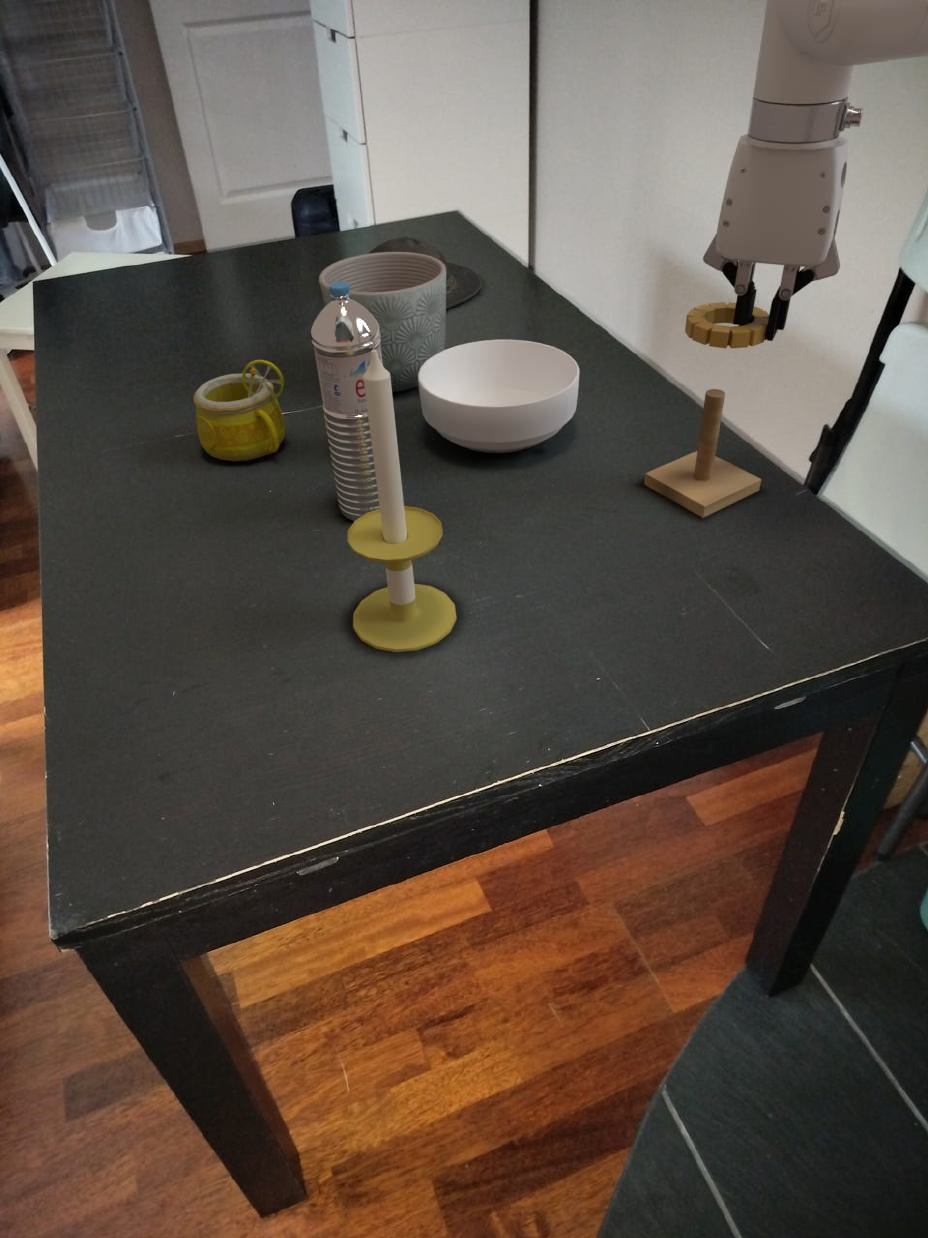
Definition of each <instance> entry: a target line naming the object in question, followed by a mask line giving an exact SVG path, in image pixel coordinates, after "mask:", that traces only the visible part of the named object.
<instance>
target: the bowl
mask: <svg viewBox="0 0 928 1238" xmlns="http://www.w3.org/2000/svg"><path fill="white" fill-rule="evenodd" d="M418 383H419V386H418V392H419V401H420V406H421V411H422V416H423V418H424V420H425V422H426V423H428V425H430V426H431V427H432V428H433V429H435V430H436V432H437V433H439V434H440V436H442V437H443V438H444V439H446V440H448V441H449V442H451V443H454V444H456V445H458V446H460V447H463V448H466V449H468V450H471V451H475V452H480V453H485V454H505V453H506V454H507V453H508V454H509V453H513V452H520V451H524V450H527V449H530V448H533V447H535V446H537V445H538V444H541V443H543V442H545V441H546V440H549V439H550V438H552V437H553V436H555V435H556V434H557V433H558V432H559V431H561V429H562V428H563V427H564V426H565V425H566V424H568V422H569V421H570V420H571V419H572V418H573V416H574V415H575V413H576V411H577V405H578V398H579V386H580V385H579V383H580V368H579V364H578V362H577V361H576V360H575V359H574V358H573V357H572V356H571V355H570V354H568V353H566V351H564V350H561V349H559V348H557V347H555V346H553V345H548V344H545V343H540V342H535V341H530V340H522V339H488V340H487V339H486V340H479V341H471V342H467V343H462V344H459V345H455V346H452V347H449V348H447V349H444V351H442V352H440V353H438V354H436V355H434V356H432V357H431V358H430V359H428V360H427V361H426V362H425V363H424V364H423V365H422V366H421V368H420V371H419V373H418Z"/></svg>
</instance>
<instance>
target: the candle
mask: <svg viewBox="0 0 928 1238" xmlns="http://www.w3.org/2000/svg"><path fill="white" fill-rule="evenodd" d="M372 346H373V350H372V351H371V358H370V364H369V367H368V369H367V371H366V372H365V374H364V375H363V379H364V387H365V395H366V403H367V411H368V418H369V426H370V434H371V442H372V450H373V458H374V466H375V474H376V482H377V490H378V498H379V506H380V509H378V510H375V511H371V512H368V513H366V514H365V515H363V516H362V517H360V518H359V519H357V520H355V521H353V523H352V524H351V526H350V527H349V528H348V530H347V544H348V546H349V547H350V548H351V551H353V552H354V553H355V555H357V556H359V557H361V558H363V559H365V560H366V561H370V562H375V563H384V569H385V576H386V582H387V583H386V584H387V586H386V587H383V588H381V589H377V590H375V591H373V592H372V593H370V594H369V595H368V596H366V597H365V598H364V599H362V600H360V602H359V604H358V606H357V607H356V608H355V610H354V612H353V614H352V628H353V631H354V632H355V633H356V635H357V636H358V638H359V639H360V641H361V642H363V643H365V644H367V645H368V646H370V647H371V648H373V649H375V650H379V651H380V650H381V651H386V652H390V653H391V652H392V653H405V652H406V653H407V652H416V651H420V650H422V649H425V648H428V647H430V646H433V645H435V644H438V643H439V642H441V640H442V639H444V638H445V637H446V636H447V635H449V634H450V633H451V631H452V629H453V627H454V626H455V624H456V621H457V611H456V605H455V603H454V602H453V601H452V599H451V598H450V597H449V596H448V595H447V594H446V593H445V592H444V591H441V590H439V589H437V588H436V587H433V586H431V585H426V584H419V583H415V577H414V569H413V560H415V559H418V558H421V557H424V556H425V555H427V554H429V552H431V551H432V550H434V549H435V548H437V546H438V544H439V542H440V541H441V539H442V538H443V535H444V533H443V526H442V522H441V520H439V519H438V517H436V515H435V514H434V513H432V512H429V511H427V510H425V509H423V508H421V507H415V506H406V505H405V503H404V492H403V484H402V473H401V465H400V464H401V463H400V455H399V446H398V436H397V434H398V433H397V426H396V425H397V424H396V416H395V407H394V398H393V392H392V387H391V377H390V372H388V371H387V370H386V369H385V368H384V367H383V365H382V363H381V361H380V359H379V356H378V353H377V350H375V349H374V344H373V343H372Z"/></svg>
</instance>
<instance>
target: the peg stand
mask: <svg viewBox="0 0 928 1238" xmlns="http://www.w3.org/2000/svg"><path fill="white" fill-rule="evenodd" d="M725 398H726V392H725V391H724V390H723V389H718V388H711V389H710V388H709V389H707V390H706V391H705V394H704V400H703V408H702V415H701V423H700V429H699V435H698V443H697V450H696V451H694V452H691V453H689V454H686V455H684V456H681V457H680V458H677V459H675V460H673V461H669V462H668V463H665V464H664V465H661V466H659V467H656V468H654V469H651V470H650V471H648V472H645V473H644V474H645V476H644V485H645V487H648V488H649V489H651V490H653V491H655V492H657V493H658V494H660V495H661V496H663V497H665V498H666V499H668V500H670V501H672V502H674V503H676V504H677V505H679V506H680V507H683V508H684V509H686V510H688V511H690V512H692V513H693V514H695V515H697V516H699V517H700V518H702V519H704V518H706V517H708V516H710V515H712V514H714V513H716V512H718V511H721V510H723V509H724V508H726V507H729V506H731V505H733V504H735V503H736V502H738V501H741V500H742V499H745V498H747V497H749V496H751V495H753V494H756V493H757V492H759V491H760V487H761V484H762V478H761V477H758V476H757V475H754V474H752V473H750V472H748V471H746V470H744V469H742V468H740V467H738V466H736V465H734V464H732V463H730V462H729V461H726V460H724V459H722V458H721V457H718V456H716V455H717V448H718V442H719V437H720V429H721V423H722V416H723V410H724V404H725Z"/></svg>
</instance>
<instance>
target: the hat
mask: <svg viewBox="0 0 928 1238" xmlns="http://www.w3.org/2000/svg"><path fill="white" fill-rule="evenodd" d="M381 252H410V253H418V254H424V255H428V256H431V257H434V258H436V259H438V260H440V261H441V262H442V263H443V264H444V265H445V267H446V310H448V309H451V308H452V307H455V306H457V305H459V304H462V303H465V302H466V301H468V300H469V299H471V298H472V297H474V296H475V295H476V294H477V293H478V292H480V290H481V289H482V286H483V285H482V279H481V277H480V276H479V275H478V274H477V273H476V272H475V271H474V270H473V269H472V268H469V267H466V266H463V265H459V264H456V263H452V262H447V260H446V257H445V256H444V255H443V253H442V252H441V250H439V249H438V248H437V247H436V246H434V245H433V244H430V243H428V242H426V241H424V240H421V239H419V238H414V237H410V236H400V237H397V238H391V239H388V240H386V241H384V242H382V243H380V244H378V245H377V246H375V247H374V248H373V249H371V250H370V251H369V252H368V253H367V254H371V253H381ZM451 275H452V276H453V277H454V278H455V280H456V283H455V280H454V278H452V277H451ZM454 283H455V285H454ZM453 285H454V287H453ZM452 287H453V288H452Z"/></svg>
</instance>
